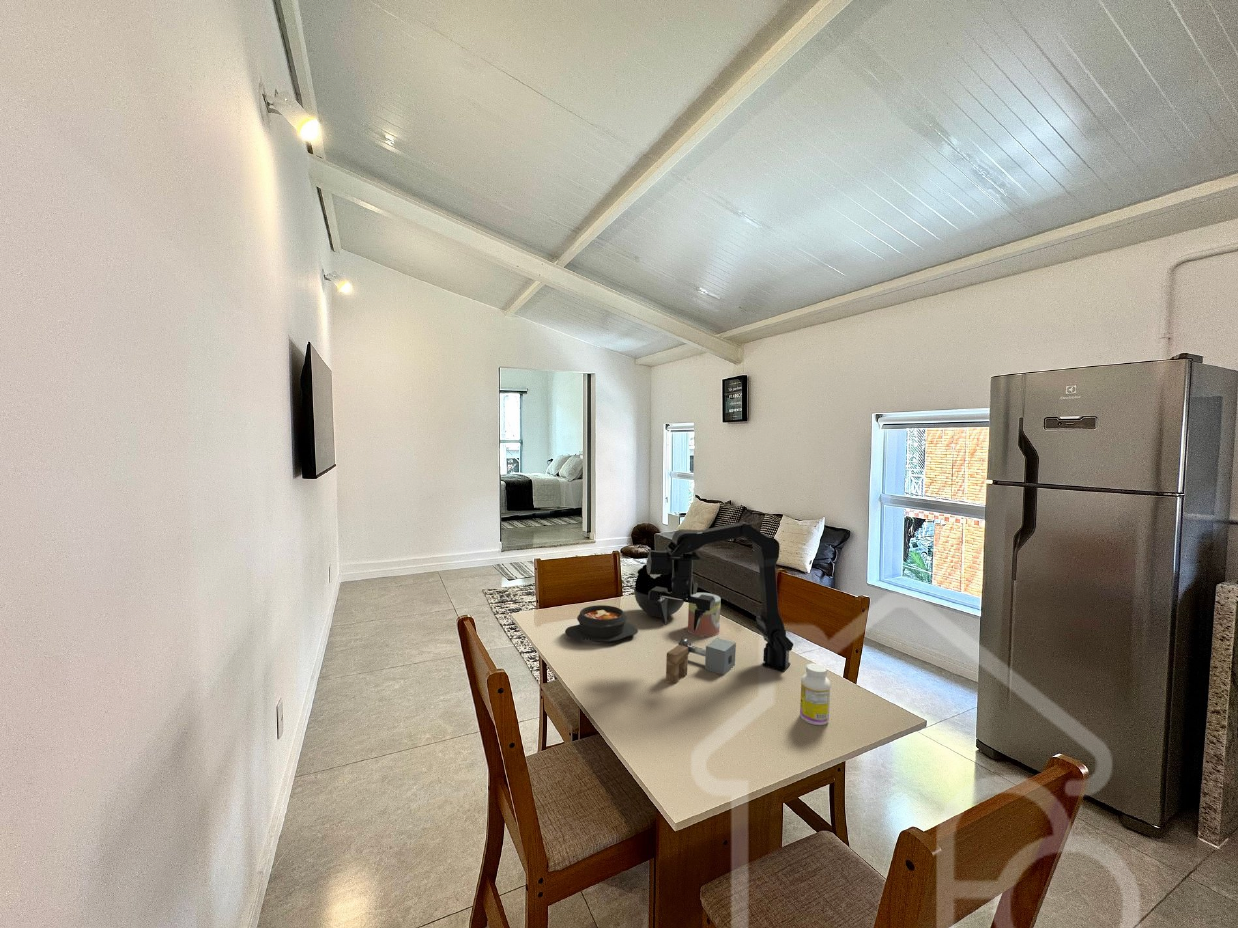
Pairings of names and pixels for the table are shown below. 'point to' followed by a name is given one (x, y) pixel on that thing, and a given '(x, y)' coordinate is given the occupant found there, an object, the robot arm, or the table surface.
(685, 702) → the table surface
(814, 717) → the supplement bottle
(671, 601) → the bowl of black rocks
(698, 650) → the shaft
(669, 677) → the block
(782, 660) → the robot arm
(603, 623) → the casserole
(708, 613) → the canned food
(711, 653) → the block
